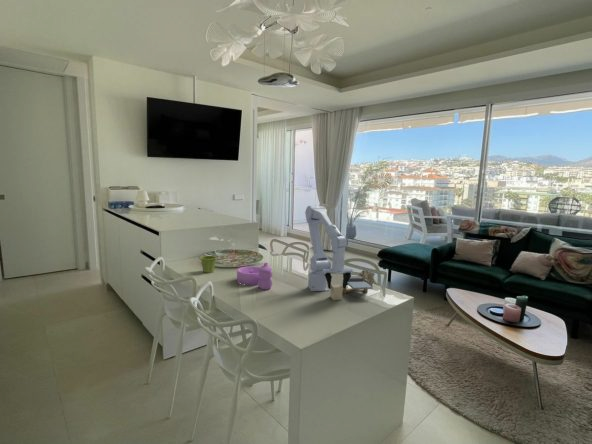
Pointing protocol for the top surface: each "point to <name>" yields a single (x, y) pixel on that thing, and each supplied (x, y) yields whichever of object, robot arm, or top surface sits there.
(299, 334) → the top surface
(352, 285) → the trapdoor
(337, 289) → the block
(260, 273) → the container set
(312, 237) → the robot arm
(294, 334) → the top surface
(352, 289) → the frame
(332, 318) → the top surface
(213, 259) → the plant pot
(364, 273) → the rock
